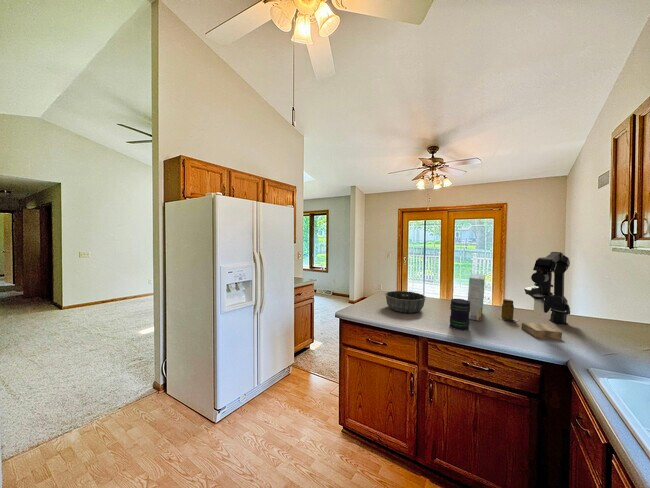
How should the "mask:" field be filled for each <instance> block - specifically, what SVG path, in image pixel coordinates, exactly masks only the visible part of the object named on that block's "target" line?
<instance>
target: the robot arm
mask: <svg viewBox="0 0 650 488" xmlns="http://www.w3.org/2000/svg"><path fill="white" fill-rule="evenodd" d="M570 265H571V261H570V258H569V257H568V256H566V255H564V253H563V252H561V251H550V253H549V254H548V255H547V256H544V257H538V258H537V259H535V263H534V266H533V269H532V271H534V273H532V275H531V276H530V279H531V281H532V282H533V283H534V285H532V286H528V287H527V286H526V287H524V292H525V294H526V295H528V296H530V297H531V298H532V299H533V300H534V299H540V300H542V301H543V302H544V312H545V313H547V312H548V311H549V310H550V308H551V314H550V319H548V320H549V321H550V322H552V323H554V324H558V325H569V323H568V322H567V317H568V315H569V316H570V315H571V307H570V306H569V305H570V304H569V303H568V299H567V298H566V296H565V273H566V272H567V270H568V269H569V267H570ZM535 271H536V272H535ZM553 274H554V275H553ZM552 276H553V277H552ZM552 278H553V284H552ZM552 288H553V292H552V291H551V290H552Z"/></svg>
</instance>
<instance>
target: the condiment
mask: <svg viewBox="0 0 650 488" xmlns="http://www.w3.org/2000/svg"><path fill="white" fill-rule="evenodd" d="M514 310H515V306H514V301H513V300H512V299H507V298H506V299H505V298H504V299H502V303H501V315H500V316H501V317H499V318H498V319H499V320H502V321H507V322H511V323H512V322H513V323H517V322H519V319H516V318H514Z"/></svg>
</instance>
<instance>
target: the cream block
mask: <svg viewBox="0 0 650 488" xmlns="http://www.w3.org/2000/svg"><path fill="white" fill-rule="evenodd" d="M533 313H535V314H537V315H538V316H550V317H551V314H552V311H551V308H550V310H549V311H548V312H547V313H545V312H544V302H543V301H542V300H540V299H533Z"/></svg>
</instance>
